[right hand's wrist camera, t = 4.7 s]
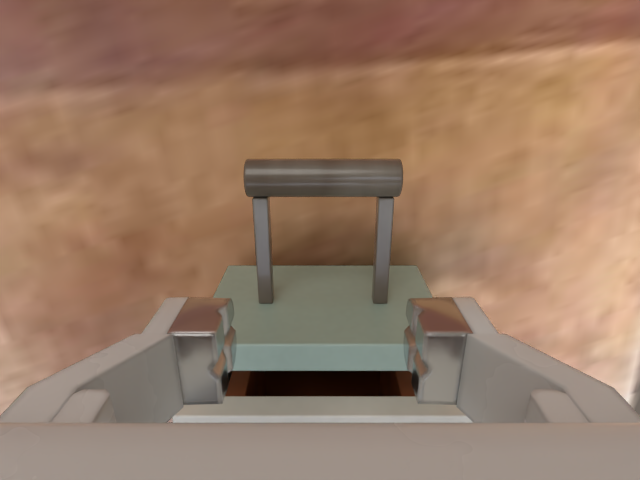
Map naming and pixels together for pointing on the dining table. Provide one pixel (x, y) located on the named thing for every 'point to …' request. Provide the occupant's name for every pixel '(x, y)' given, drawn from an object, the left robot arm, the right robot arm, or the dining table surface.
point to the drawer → (321, 293)
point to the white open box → (320, 410)
